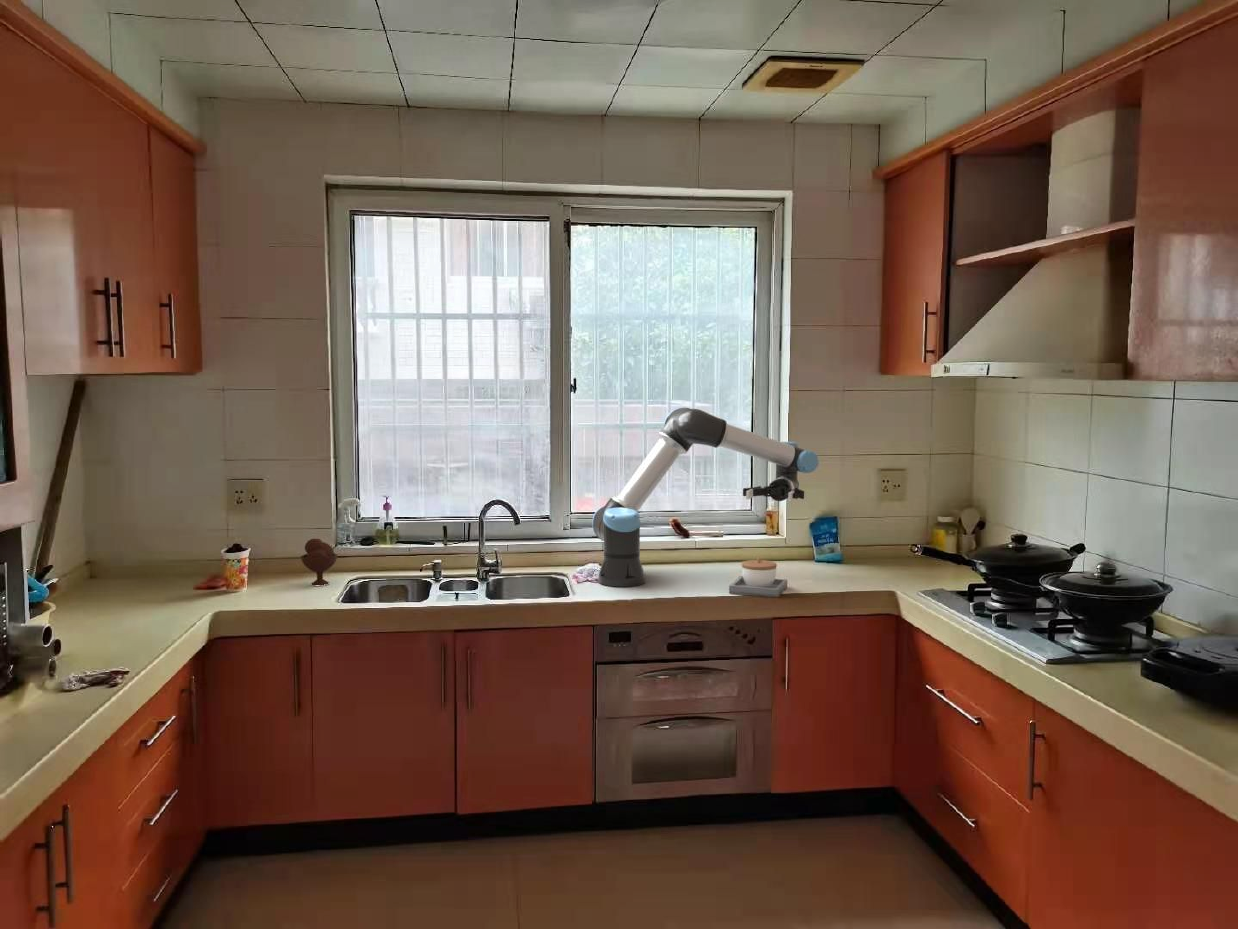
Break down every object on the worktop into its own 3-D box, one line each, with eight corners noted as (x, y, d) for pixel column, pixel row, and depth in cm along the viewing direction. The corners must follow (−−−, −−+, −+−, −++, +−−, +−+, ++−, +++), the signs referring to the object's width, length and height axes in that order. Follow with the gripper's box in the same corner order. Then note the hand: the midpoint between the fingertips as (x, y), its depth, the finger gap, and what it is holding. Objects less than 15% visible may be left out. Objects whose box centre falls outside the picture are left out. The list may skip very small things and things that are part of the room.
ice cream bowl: (324, 589, 279) (322, 541, 278) (294, 586, 282) (293, 540, 281) (344, 582, 289) (343, 536, 288) (316, 580, 292) (314, 534, 291)
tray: (729, 593, 272) (729, 585, 272) (740, 583, 286) (740, 575, 286) (777, 597, 267) (778, 589, 267) (787, 587, 281) (787, 579, 281)
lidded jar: (774, 584, 281) (775, 555, 281) (777, 592, 271) (777, 561, 270) (740, 583, 283) (741, 554, 282) (742, 591, 272) (742, 561, 271)
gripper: (817, 501, 302) (807, 509, 282) (745, 498, 311) (730, 505, 291) (818, 479, 301) (807, 486, 281) (745, 476, 310) (730, 483, 290)
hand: (768, 496), depth 286 cm, fingers open, 13 cm apart
